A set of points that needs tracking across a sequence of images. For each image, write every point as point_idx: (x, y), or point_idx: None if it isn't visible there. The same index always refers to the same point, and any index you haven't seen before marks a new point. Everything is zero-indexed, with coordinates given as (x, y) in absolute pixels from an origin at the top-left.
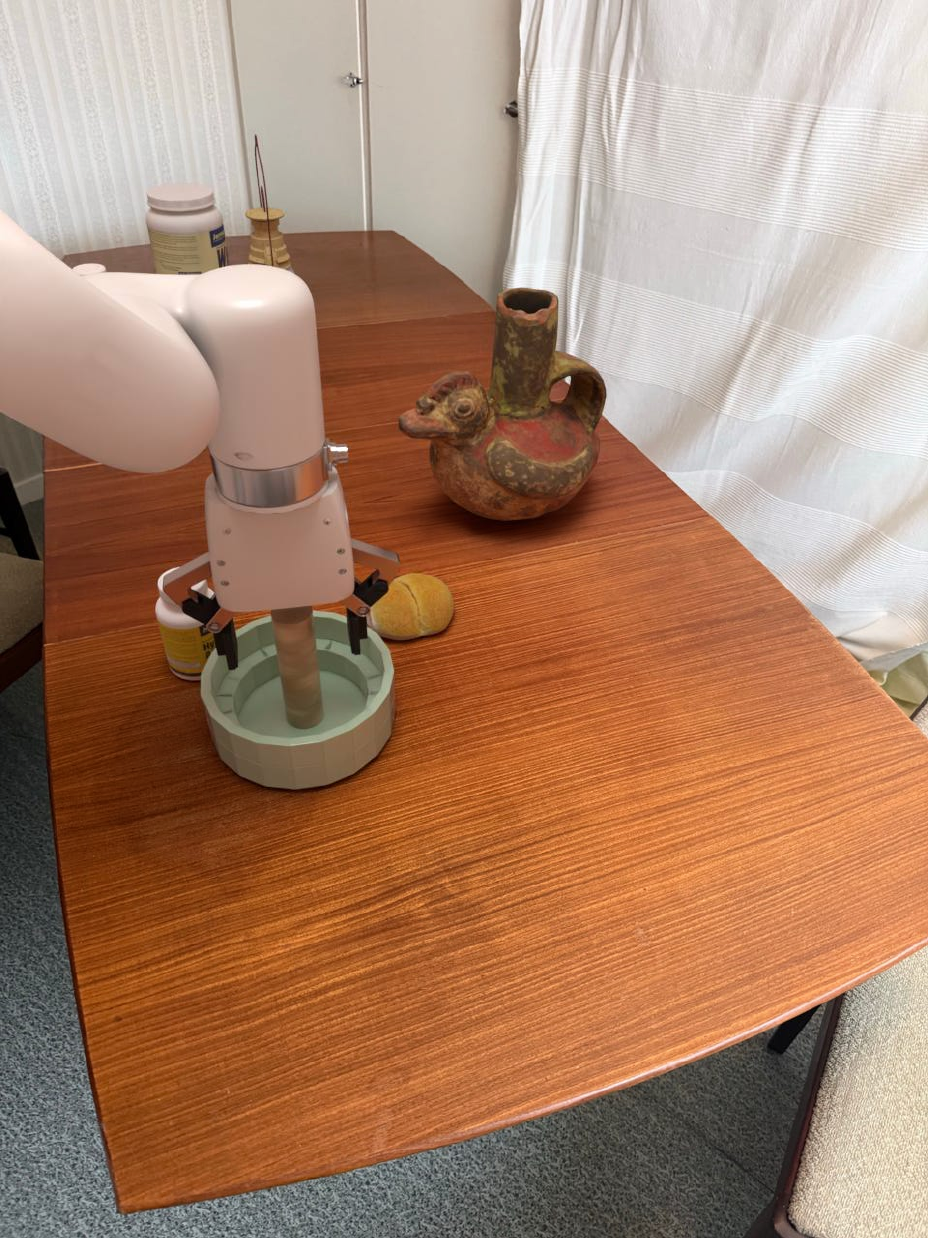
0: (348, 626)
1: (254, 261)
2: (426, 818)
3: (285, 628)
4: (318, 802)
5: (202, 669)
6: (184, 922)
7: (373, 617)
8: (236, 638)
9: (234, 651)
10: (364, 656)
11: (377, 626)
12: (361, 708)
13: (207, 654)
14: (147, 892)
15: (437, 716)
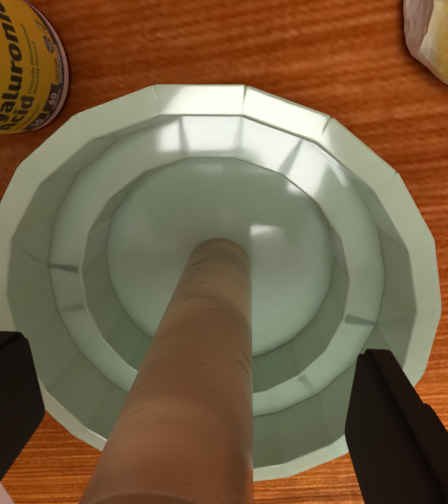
0: (373, 444)
1: None
2: None
3: None
4: None
5: (15, 132)
6: (85, 479)
7: (435, 27)
8: (11, 351)
9: (3, 475)
10: (365, 214)
11: (430, 55)
12: (318, 273)
13: (4, 127)
14: (42, 447)
15: (441, 299)
